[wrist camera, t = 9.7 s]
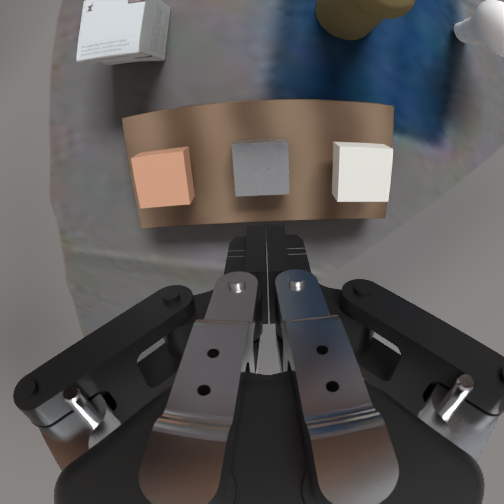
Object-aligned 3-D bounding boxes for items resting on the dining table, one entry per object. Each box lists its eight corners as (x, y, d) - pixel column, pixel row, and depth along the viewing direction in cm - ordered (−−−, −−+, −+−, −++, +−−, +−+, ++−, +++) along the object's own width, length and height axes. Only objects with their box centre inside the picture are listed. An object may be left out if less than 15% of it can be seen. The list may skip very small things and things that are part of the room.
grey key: (285, 138, 24) (288, 141, 22) (287, 186, 26) (289, 194, 24) (233, 140, 24) (231, 144, 22) (237, 188, 26) (235, 196, 24)
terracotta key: (188, 146, 23) (183, 151, 21) (194, 195, 25) (190, 204, 23) (139, 152, 23) (130, 158, 21) (148, 200, 25) (140, 208, 24)
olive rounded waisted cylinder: (348, -19, 18) (389, -61, 9) (385, 25, 20) (442, 5, 11) (302, 4, 20) (326, -38, 11) (341, 50, 22) (386, 32, 13)
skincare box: (112, 66, 23) (73, 63, 17) (117, 14, 20) (81, 0, 14) (166, 61, 23) (139, 53, 17) (172, 7, 20) (148, -14, 14)
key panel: (377, 103, 25) (393, 106, 22) (371, 203, 31) (384, 218, 27) (138, 114, 26) (121, 118, 23) (153, 212, 32) (141, 228, 28)
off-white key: (383, 144, 22) (393, 149, 20) (379, 193, 24) (388, 201, 22) (333, 141, 22) (339, 146, 20) (331, 193, 24) (337, 201, 22)
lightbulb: (431, 6, 18) (493, -11, 9) (470, 13, 17) (532, 6, 8) (443, 55, 21) (511, 55, 12) (480, 59, 20) (545, 65, 11)
